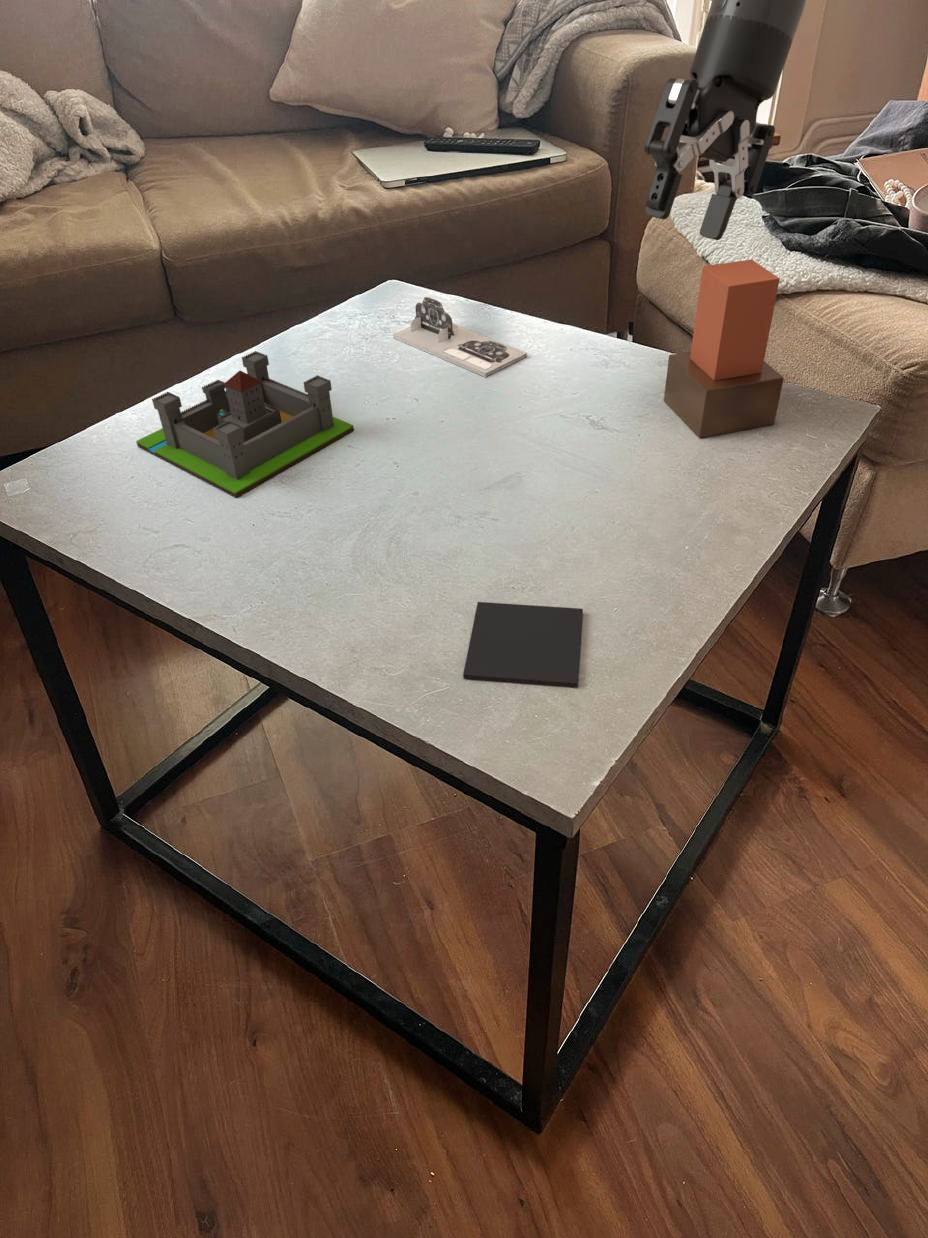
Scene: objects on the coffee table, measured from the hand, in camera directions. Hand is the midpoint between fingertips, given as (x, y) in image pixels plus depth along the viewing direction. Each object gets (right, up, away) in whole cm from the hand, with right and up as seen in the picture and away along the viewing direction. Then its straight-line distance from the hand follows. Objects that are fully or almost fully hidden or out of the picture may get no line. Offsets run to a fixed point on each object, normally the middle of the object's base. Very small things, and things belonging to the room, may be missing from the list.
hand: (683, 227), depth 84 cm
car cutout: (-21, -5, +21) cm, 30 cm away
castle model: (-42, -18, +7) cm, 46 cm away
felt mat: (-16, -38, -17) cm, 44 cm away
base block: (+5, -15, +8) cm, 18 cm away
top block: (+5, -11, +5) cm, 13 cm away
